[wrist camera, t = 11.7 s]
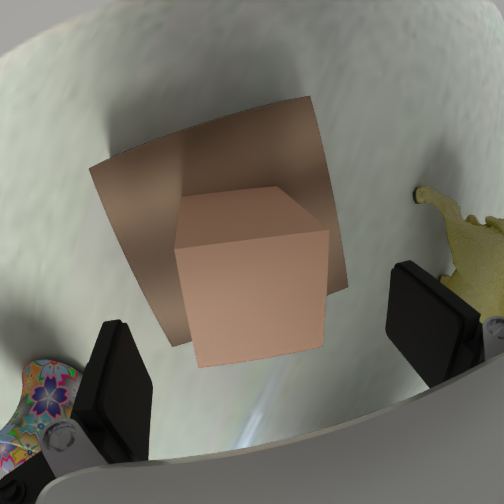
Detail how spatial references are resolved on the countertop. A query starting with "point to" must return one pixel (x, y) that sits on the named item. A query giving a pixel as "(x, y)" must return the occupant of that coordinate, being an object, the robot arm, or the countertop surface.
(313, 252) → the terracotta block
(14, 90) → the countertop surface
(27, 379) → the mug
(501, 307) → the toy
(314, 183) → the walnut box
